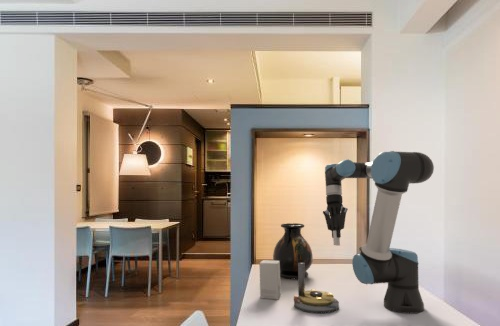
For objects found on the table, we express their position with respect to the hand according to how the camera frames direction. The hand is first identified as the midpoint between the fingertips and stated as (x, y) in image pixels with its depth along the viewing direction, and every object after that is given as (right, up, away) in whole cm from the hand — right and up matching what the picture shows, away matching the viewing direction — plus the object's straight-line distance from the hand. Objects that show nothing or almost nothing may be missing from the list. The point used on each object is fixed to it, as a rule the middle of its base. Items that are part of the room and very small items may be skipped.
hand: (336, 245), depth 171 cm
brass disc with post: (-13, -19, -18) cm, 29 cm away
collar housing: (-13, -21, -18) cm, 31 cm away
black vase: (-17, -24, +31) cm, 43 cm away
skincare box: (-31, -22, -6) cm, 38 cm away
